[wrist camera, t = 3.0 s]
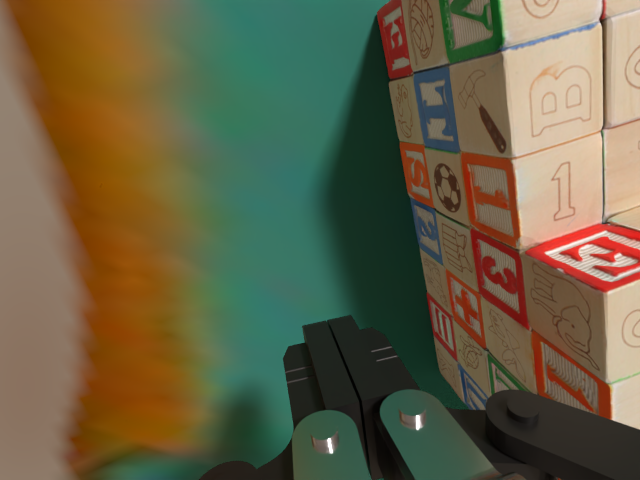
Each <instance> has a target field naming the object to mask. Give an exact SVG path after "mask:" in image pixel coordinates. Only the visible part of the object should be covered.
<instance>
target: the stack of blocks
mask: <svg viewBox="0 0 640 480" xmlns="http://www.w3.org/2000/svg"><path fill="white" fill-rule="evenodd" d="M377 17H378V22H379V27H380V32H381V38H382V43H383V48H384V53H385V58H386V64H387V68H388V75H389V77H390V82H389V90H390V95H391V101H392V107H393V112H394V117H395V123H396V128H397V133H398V138H399V140H400V152H401V157H402V163H403V169H404V175H405V180H406V185H407V192H408V195H409V196H410V200H411V206H412V211H413V217H414V223H415V228H416V234H417V240H418V244H419V246H420V254H421V260H422V265H423V271H424V276H425V282H426V287H427V300H428V306H429V311H430V317H431V323H432V328H433V334H434V342H435V348H436V354H437V359H438V365H439V370H440V372H441V374H442V376H443V377H444V378H445V379H446V381H447V382H448V383H449V384H450V385H451V387H452V388H453V389H454V391H455V392H456V393H457V395H458V396H459V398H460V399H461V400H462V401H463V403H466V405H467V406H468V408H469V409H470V410H486V402H487V400H488V399H489V397H490V396H491V395H493V394H494V393H496V392H499V391H502V390H509V389H515V390H523V391H527V392H531V393H534V394H537V395H540V396H543V397H546V398H549V399H552V400H554V401H557V402H560V403H563V404H566V405H569V406H572V407H575V408H578V409H581V410H584V411H587V412H590V413H593V414H596V415H599V416H601V417H604V418H607V419H610V420H613V421H616V422H619V423H622V424H625V425H628V426H631V427H634V428H637V429H640V0H391V1H389V2H388V3H387V4H385V5H384V6H383V7H382V8H381V9H379V11H378V12H377ZM558 480H562V479H559V478H558Z"/></svg>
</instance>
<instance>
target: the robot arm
mask: <svg viewBox="0 0 640 480" xmlns="http://www.w3.org/2000/svg"><path fill="white" fill-rule="evenodd" d="M302 328H303V334H304V340H305V343H301V344H297V345H292V346H288V349H287V351H286V353H285V355H284V358H283V361H284V368H285V374H286V380H287V387H288V393H289V399H290V405H291V412H292V418H293V425H294V430H293V435H292V438H291V440H290V442H289V444H288V446H287V447H286V448H285V450H284V451H283V452H282V453H281V454H280V455H278V456H277V457H276V458H275V459H273V460H272V461H270V462H268V463H267V464H265V465H263V466H262V467H260V468H258V469H256V468H255V467H254V466H253V465H251V464H249V463H247V462H243V461H230V462H226V463H223V464H220V465H218V466H216V467H214V468H212V469H211V470H209V471H208V472H207V473H205V474H204V475H203V476H202V477H201V478H200V479H199V480H371V479H370V476H371V478H372V480H376V479H380V478H384V480H558V478H559V479H562V480H640V429H637V428H634V427H631V426H628V425H625V424H622V423H619V422H616V421H613V420H610V419H607V418H604V417H601V416H599V415H596V414H593V413H590V412H587V411H584V410H581V409H578V408H575V407H572V406H569V405H566V404H563V403H560V402H557V401H554V400H552V399H549V398H546V397H543V396H540V395H537V394H534V393H531V392H527V391H523V390H515V389H509V390H502V391H499V392H496V393H494V394H493V395H491V396H490V397H489V399H488V400H487V402H486V410H460V409H451V408H447V407H444V406H443V404H442V403H441V402H440V401H439V400H438V399H437V398H436V397H434V396H433V395H431V394H429V393H426V392H424V391H421V390H420V389H419V387H418V386H417V384H416V383H415V381H414V380H413V378H412V376H411V375H410V373H409V372H408V370H407V369H406V367H405V366H404V364H403V363H402V361H401V360H400V358H399V357H398V356H397V353H396V352H395V350H394V349H393V348H392V347H391V344H390V343H389V341H388V340H387V338H386V337H385V335H384V334H382V333H380V332H379V331H377V330H375V329H374V328H372V327H370V328H366V329H362V330H359V328H358V326H357V325H356V323H355V321H354V319H353V317H352V316H351V315H348V316H344V317H339V318H335V319H330V320H327V322H326V321H322V322H317V323H313V324H308V325H304V326H302ZM368 470H369V472H368ZM369 473H370V476H369Z"/></svg>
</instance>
